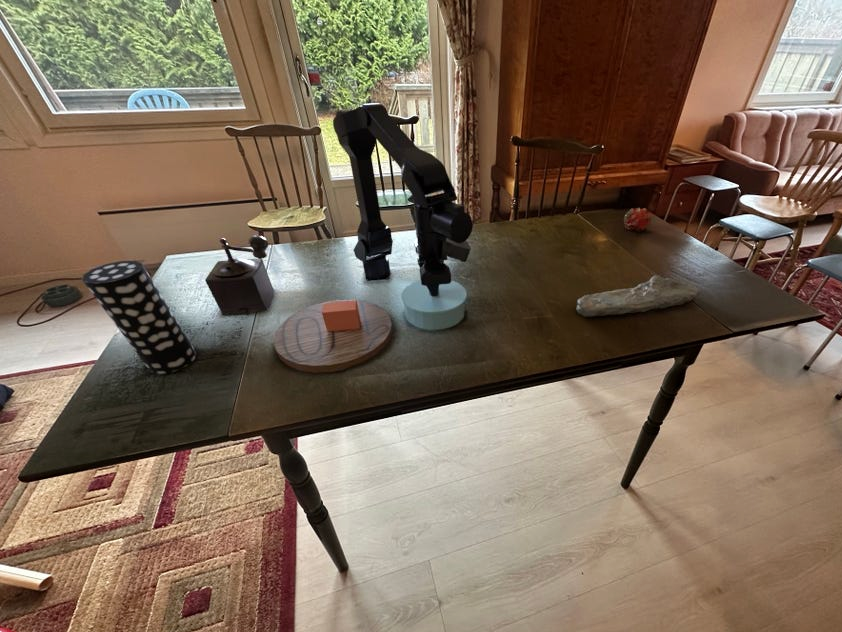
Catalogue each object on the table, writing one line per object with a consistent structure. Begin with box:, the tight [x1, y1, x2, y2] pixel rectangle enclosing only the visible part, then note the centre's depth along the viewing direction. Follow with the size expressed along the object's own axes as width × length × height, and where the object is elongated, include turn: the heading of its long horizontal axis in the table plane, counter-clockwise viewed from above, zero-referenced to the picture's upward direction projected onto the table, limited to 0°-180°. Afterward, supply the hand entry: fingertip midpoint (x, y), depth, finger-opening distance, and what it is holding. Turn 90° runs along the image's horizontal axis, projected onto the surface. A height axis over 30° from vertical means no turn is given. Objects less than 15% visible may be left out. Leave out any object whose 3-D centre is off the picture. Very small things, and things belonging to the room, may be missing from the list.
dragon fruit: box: [622, 207, 652, 232], centre depth 135 cm, size 8×8×12 cm
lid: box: [400, 279, 468, 314], centre depth 87 cm, size 15×15×5 cm
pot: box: [403, 301, 466, 331], centre depth 90 cm, size 14×14×5 cm
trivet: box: [273, 299, 393, 374], centre depth 84 cm, size 25×25×2 cm
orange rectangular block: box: [322, 299, 361, 332], centre depth 83 cm, size 7×4×5 cm, turn 102°
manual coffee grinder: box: [204, 235, 275, 316], centre depth 89 cm, size 16×11×18 cm
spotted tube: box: [81, 260, 198, 375], centre depth 70 cm, size 8×8×20 cm
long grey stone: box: [576, 275, 699, 318], centre depth 96 cm, size 35×5×10 cm
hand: (433, 293), depth 88 cm, fingers closed on lid, 2 cm apart
